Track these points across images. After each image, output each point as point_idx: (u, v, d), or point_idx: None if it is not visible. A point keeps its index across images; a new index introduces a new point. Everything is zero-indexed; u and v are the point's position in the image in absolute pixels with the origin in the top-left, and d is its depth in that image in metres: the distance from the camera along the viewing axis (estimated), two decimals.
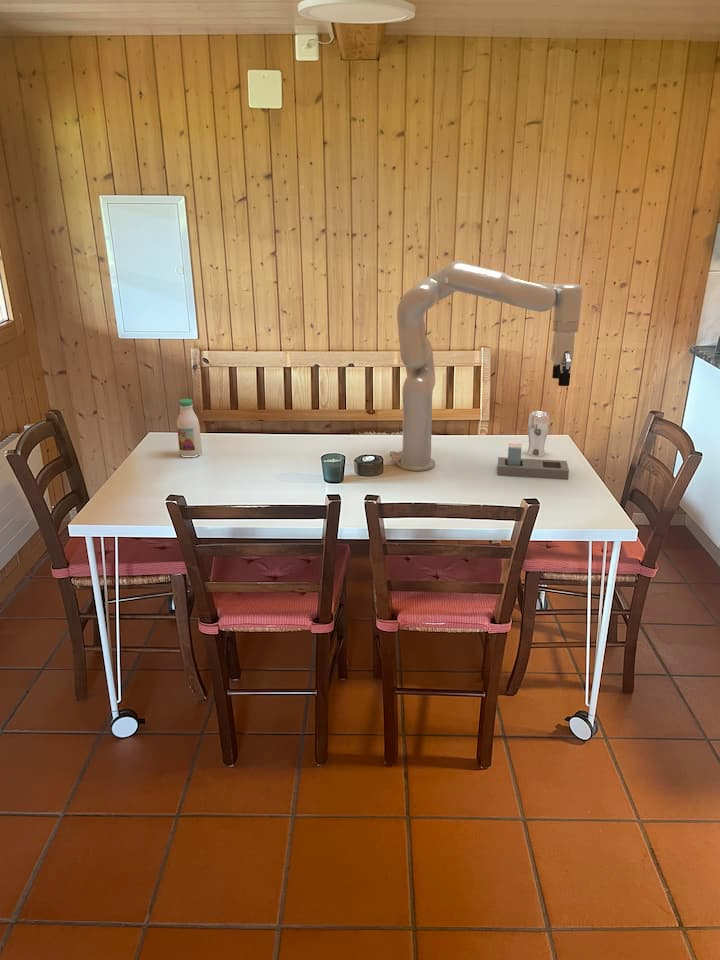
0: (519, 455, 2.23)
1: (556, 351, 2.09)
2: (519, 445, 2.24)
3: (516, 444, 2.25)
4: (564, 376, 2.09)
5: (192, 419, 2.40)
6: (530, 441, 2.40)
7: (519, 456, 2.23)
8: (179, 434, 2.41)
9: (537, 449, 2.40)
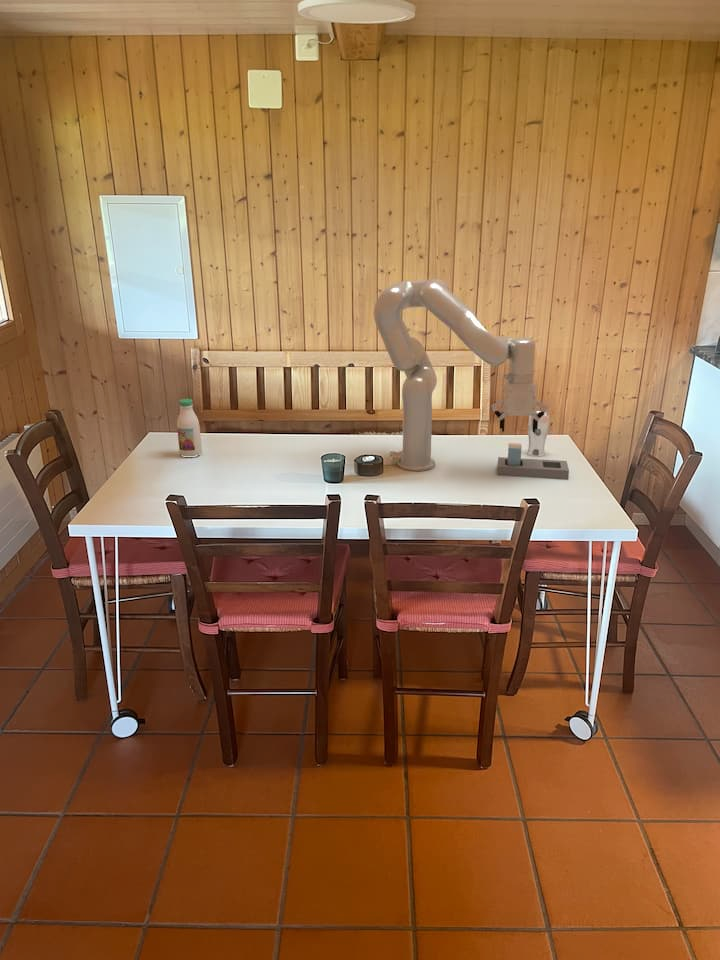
0: (519, 455, 2.23)
1: (530, 402, 2.15)
2: (519, 445, 2.24)
3: (516, 444, 2.25)
4: None
5: (192, 419, 2.40)
6: (530, 441, 2.40)
7: (519, 456, 2.23)
8: (179, 434, 2.41)
9: (537, 449, 2.40)
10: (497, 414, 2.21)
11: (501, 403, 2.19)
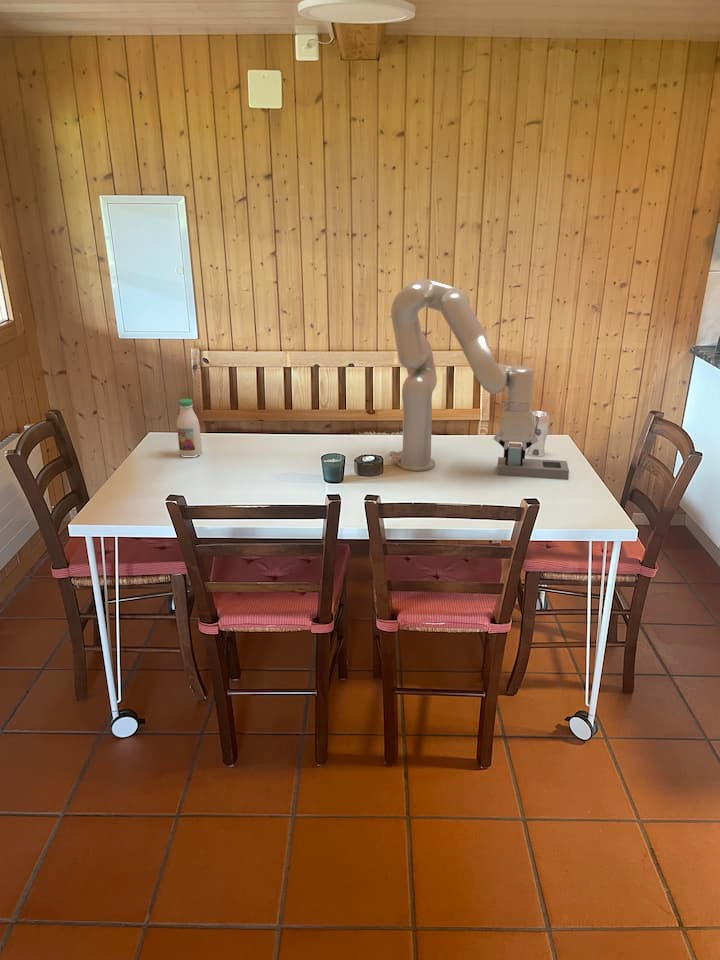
0: (519, 455, 2.23)
1: (527, 430, 2.19)
2: (519, 445, 2.24)
3: (516, 444, 2.25)
4: None
5: (192, 419, 2.40)
6: None
7: (519, 456, 2.23)
8: (179, 434, 2.41)
9: (537, 449, 2.40)
10: (501, 444, 2.24)
11: None
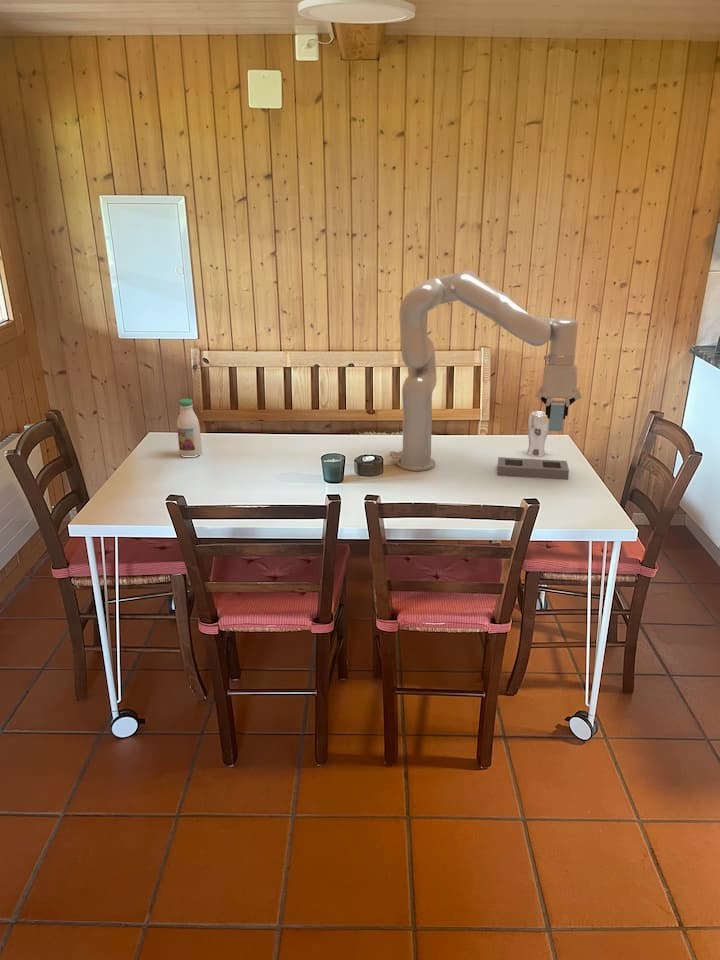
0: (562, 412, 2.15)
1: (570, 384, 2.11)
2: (562, 401, 2.16)
3: (558, 401, 2.17)
4: None
5: (192, 419, 2.40)
6: (530, 441, 2.40)
7: (562, 413, 2.15)
8: (179, 434, 2.41)
9: (537, 449, 2.40)
10: (543, 400, 2.16)
11: None
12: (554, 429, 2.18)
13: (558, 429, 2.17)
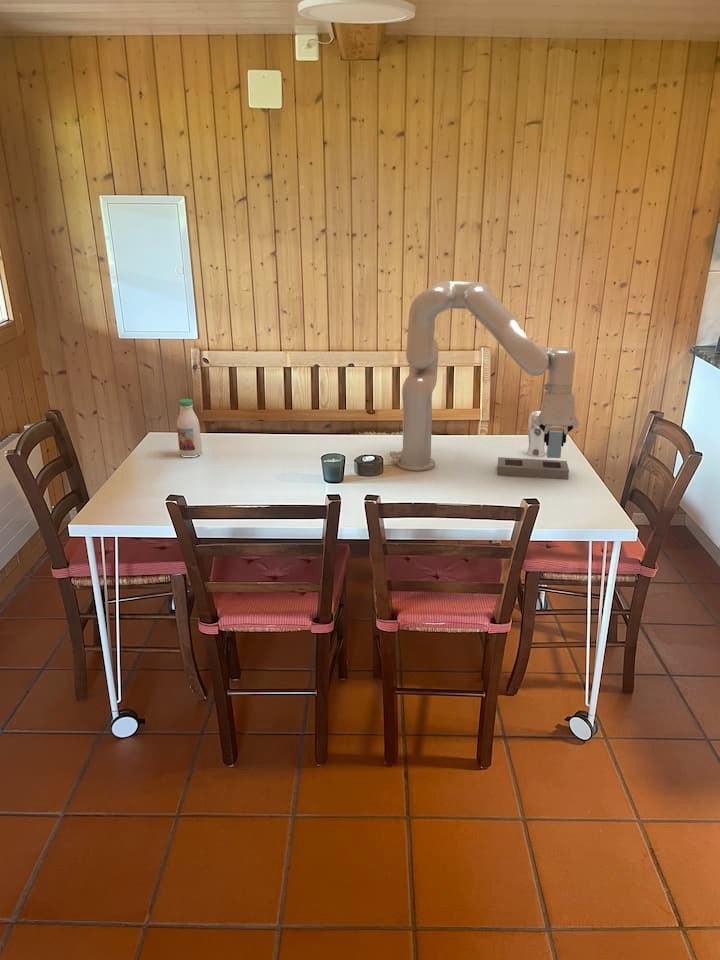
0: (560, 439, 2.18)
1: (568, 413, 2.14)
2: (560, 428, 2.20)
3: (557, 428, 2.20)
4: None
5: (192, 419, 2.40)
6: (530, 441, 2.40)
7: (560, 440, 2.19)
8: (179, 434, 2.41)
9: (537, 449, 2.40)
10: (542, 428, 2.19)
11: None
12: (552, 456, 2.21)
13: (556, 456, 2.21)
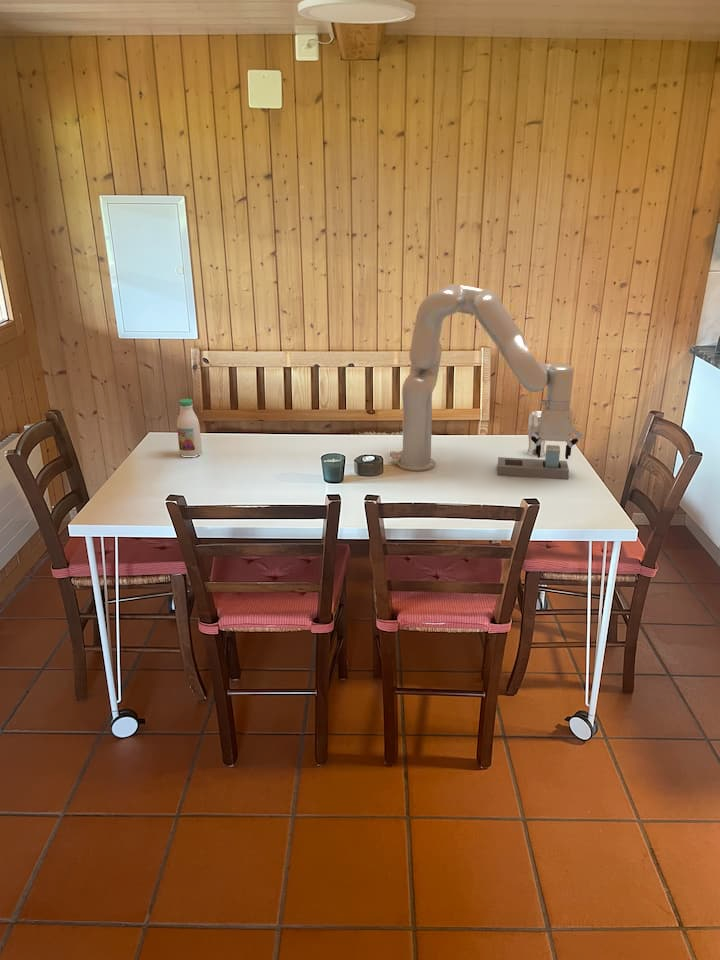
0: (557, 457, 2.21)
1: (566, 428, 2.16)
2: (557, 447, 2.22)
3: (554, 446, 2.23)
4: None
5: (192, 419, 2.40)
6: (530, 441, 2.40)
7: (557, 458, 2.21)
8: (179, 434, 2.41)
9: None
10: (534, 440, 2.21)
11: (537, 429, 2.20)
12: None
13: None
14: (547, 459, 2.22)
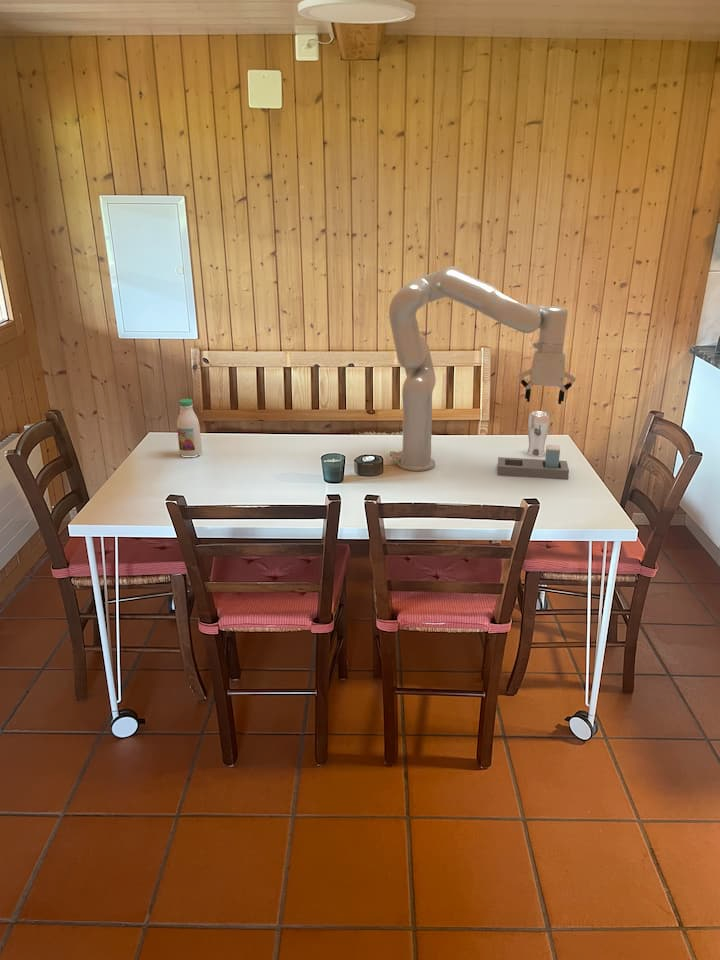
0: (557, 457, 2.21)
1: (558, 373, 2.12)
2: (557, 447, 2.22)
3: (554, 446, 2.23)
4: None
5: (192, 419, 2.40)
6: (530, 441, 2.40)
7: (557, 458, 2.21)
8: (179, 434, 2.41)
9: (537, 449, 2.40)
10: (523, 383, 2.17)
11: (528, 372, 2.16)
12: None
13: None
14: (547, 459, 2.22)
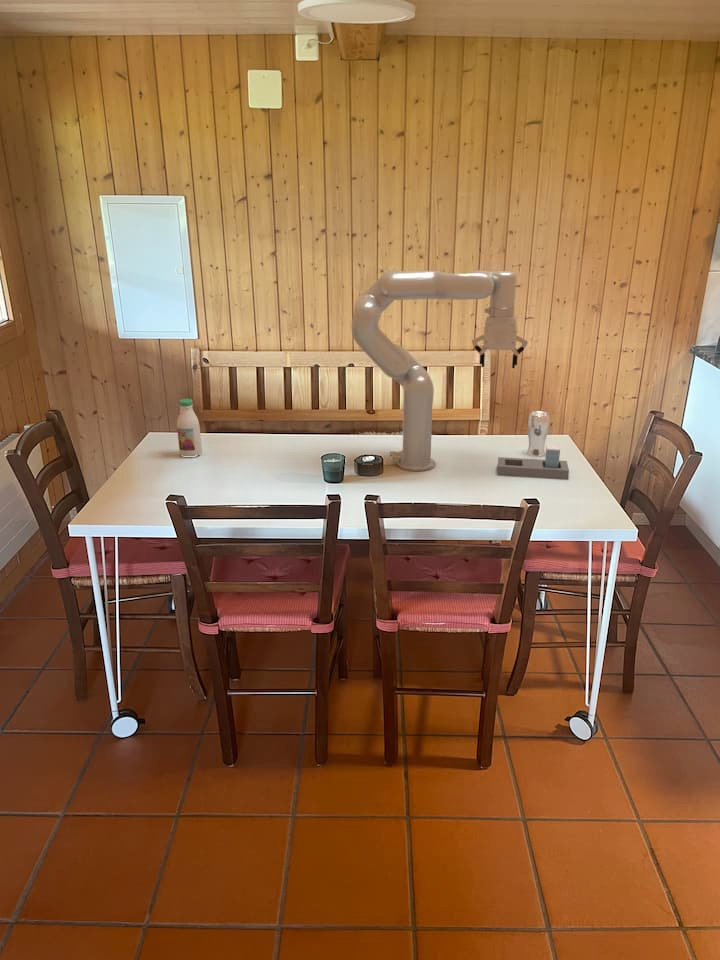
0: (557, 457, 2.21)
1: (510, 336, 2.16)
2: (557, 447, 2.22)
3: (554, 446, 2.23)
4: None
5: (192, 419, 2.40)
6: (530, 441, 2.40)
7: (557, 458, 2.21)
8: (179, 434, 2.41)
9: (537, 449, 2.40)
10: (477, 349, 2.21)
11: (481, 338, 2.20)
12: None
13: None
14: (547, 459, 2.22)
